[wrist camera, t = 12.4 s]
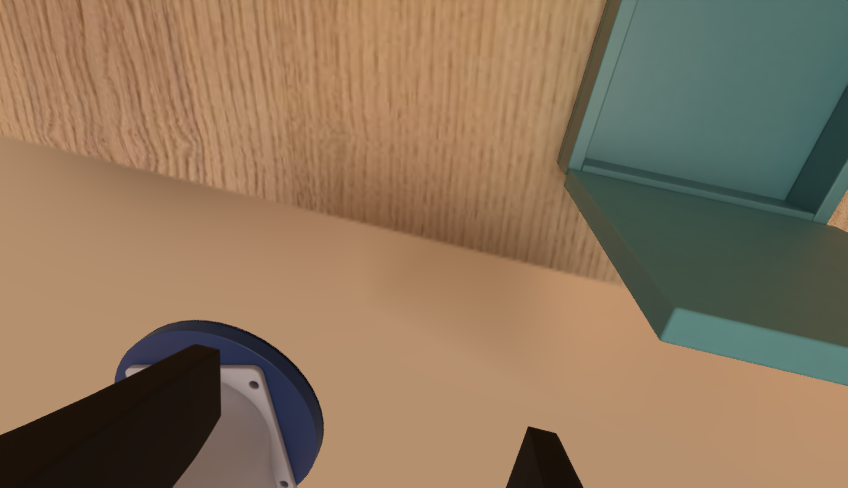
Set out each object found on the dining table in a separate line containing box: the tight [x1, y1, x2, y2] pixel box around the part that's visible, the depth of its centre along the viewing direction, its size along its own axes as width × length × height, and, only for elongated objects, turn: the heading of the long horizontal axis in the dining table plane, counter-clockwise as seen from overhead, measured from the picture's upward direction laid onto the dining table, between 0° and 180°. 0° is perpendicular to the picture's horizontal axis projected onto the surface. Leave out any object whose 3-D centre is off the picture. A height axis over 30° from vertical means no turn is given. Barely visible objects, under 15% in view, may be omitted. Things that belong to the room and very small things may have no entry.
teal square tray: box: [557, 0, 848, 225], centre depth 14 cm, size 9×9×2 cm
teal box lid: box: [564, 170, 848, 386], centre depth 10 cm, size 9×9×1 cm
